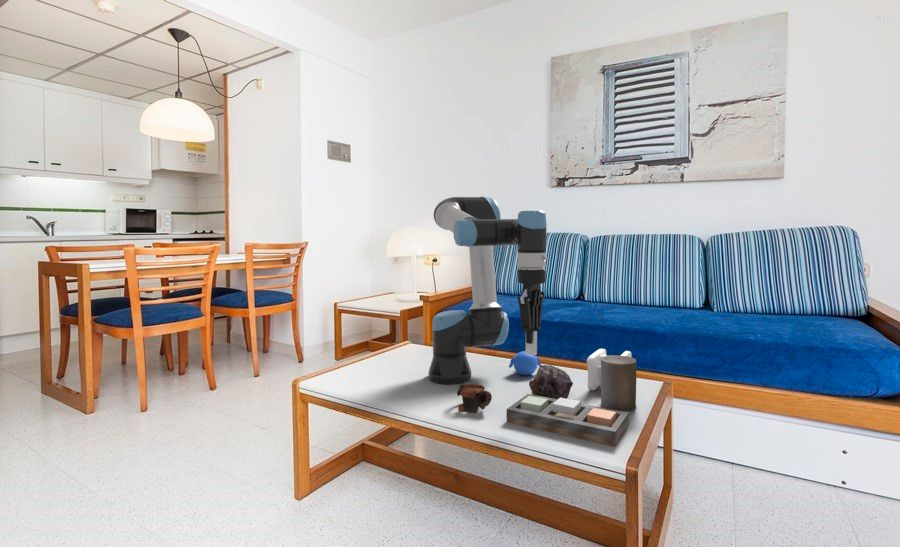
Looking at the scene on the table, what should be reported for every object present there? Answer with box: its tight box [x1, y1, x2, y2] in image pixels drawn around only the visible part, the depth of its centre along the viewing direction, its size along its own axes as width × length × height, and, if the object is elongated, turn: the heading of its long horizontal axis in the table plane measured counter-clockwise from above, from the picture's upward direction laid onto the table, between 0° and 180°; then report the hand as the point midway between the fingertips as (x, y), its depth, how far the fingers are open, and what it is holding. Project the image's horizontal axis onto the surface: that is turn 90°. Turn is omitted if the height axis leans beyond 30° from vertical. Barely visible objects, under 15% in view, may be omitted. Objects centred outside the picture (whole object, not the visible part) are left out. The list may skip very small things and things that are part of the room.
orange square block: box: [587, 408, 616, 427], centre depth 116 cm, size 6×6×2 cm
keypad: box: [506, 393, 630, 447], centre depth 121 cm, size 28×14×4 cm, turn 57°
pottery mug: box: [455, 383, 493, 415], centre depth 133 cm, size 12×10×8 cm
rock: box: [528, 364, 574, 399], centre depth 142 cm, size 12×9×10 cm
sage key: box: [521, 396, 548, 413], centre depth 126 cm, size 6×6×2 cm
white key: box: [553, 398, 582, 416], centre depth 121 cm, size 6×6×2 cm
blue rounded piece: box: [508, 350, 542, 376], centre depth 167 cm, size 12×12×8 cm
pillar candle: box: [600, 354, 637, 412], centre depth 133 cm, size 10×10×15 cm
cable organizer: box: [586, 348, 632, 391], centre depth 149 cm, size 15×11×12 cm
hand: (531, 354), depth 127 cm, fingers closed
